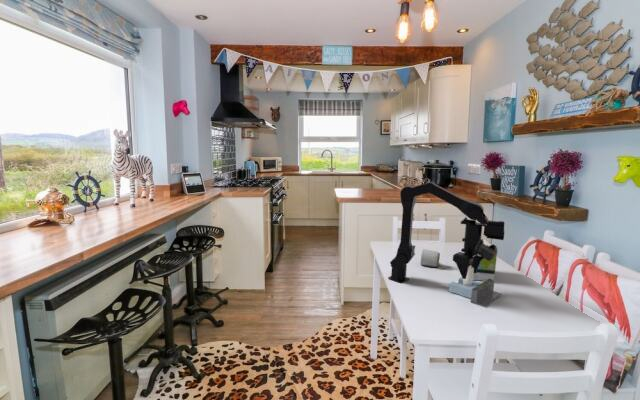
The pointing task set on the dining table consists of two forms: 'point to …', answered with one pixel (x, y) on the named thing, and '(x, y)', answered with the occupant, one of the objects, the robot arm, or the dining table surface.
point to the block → (462, 288)
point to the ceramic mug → (430, 258)
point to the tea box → (485, 267)
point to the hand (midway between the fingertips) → (469, 275)
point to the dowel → (469, 277)
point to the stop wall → (484, 293)
